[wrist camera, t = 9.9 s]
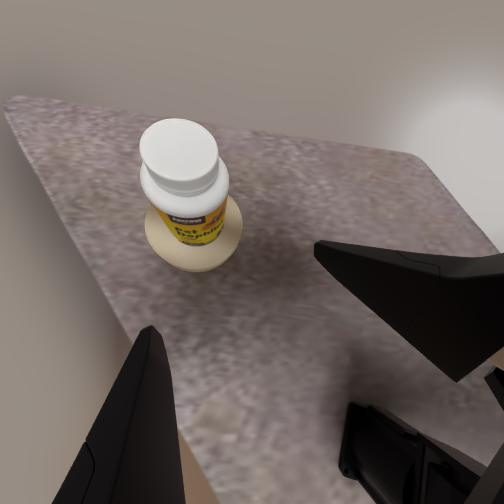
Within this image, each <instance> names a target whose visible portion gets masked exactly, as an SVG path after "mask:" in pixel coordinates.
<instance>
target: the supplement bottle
mask: <svg viewBox="0 0 504 504" xmlns="http://www.w3.org/2000/svg"><path fill="white" fill-rule="evenodd" d="M140 154H141V157H142V159H143V163H142V166H141V171H140V180H141V185H142V188H143V190H144V192H145V194H146V196H147V198H148V199H149V201H150V202H151V203H152V205H153V207H154V208H155V210H156V211H157V213H158V214H159V216H160V217H161V219H162V220H163V222H164V223H165V225H166V226H167V228H168V229H169V231H170V232H171V234H172V235H173V236H174V237H175V238H176V239H177V240H178V241H179V242H181V243H183V244H185V245H188V246H192V247H201V246H205V245H208V244H210V243H212V242H213V241H215V240H216V239H217V238H218V237H219V235H220V234H221V232H222V229H223V226H224V219H225V212H226V205H227V197H228V190H229V175H228V171H227V168H226V166H225V164H224V162H223V161H222V159H221V158H220V157H219V156H218V147H217V144H216V142H215V140H214V138H213V136H212V135H211V134H210V133H209V132H208V131H207V130H206V129H205V128H204V127H202V126H200V125H199V124H197V123H195V122H192V121H189V120H185V119H176V118H174V119H165V120H161V121H158V122H156V123H154V124H153V125H151V126H150V127H149V128H148V129H147V130H146V131H145V132H144V134H143V135H142V137H141V140H140Z"/></svg>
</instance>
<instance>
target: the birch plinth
mask: <svg viewBox="0 0 504 504" xmlns="http://www.w3.org/2000/svg"><path fill="white" fill-rule="evenodd" d="M242 230H243V222H242V216H241V213H240V210H239V208H238V206H237V204H236V203H235V201H234V200H233V199H232V198H231V197H230V196H229V195H228V197H227V205H226V212H225V219H224V226H223V229H222V232H221V234H220V235H219V237H218V238H217V239H216V240H215V241H213V242H212V243H210V244H208V245H205V246H201V247H192V246H188V245H185V244H183V243H181V242H179V241H178V240H177V239H176V238H175V237H174V236H173V235H172V234H171V232H170V231H169V229H168V228H167V226H166V225H165V223H164V222H163V220H162V219H161V217H160V216H159V214H158V213H157V211H156V210H155V208H154V207H153V205H152V203H151V204H150V206H149V208H148V211H147V213H146V218H145V231H146V235H147V239H148V241H149V243H150V245H151V246H152V248H153V249H154V251H155V252H156V253H157V254H158V255H159V256H160V257H162V258H163V259H164V260H165V261H167V262H168V263H169V264H171V265H172V266H174V267H176V268H178V269H180V270H183V271H187V272H194V273H200V272H207V271H211V270H214V269H216V268H218V267H220V266H221V265H223V264H224V263H225V262H227V261H228V260H229V259H230V257H231V256H232V255H233V253H234V252H235V250H236V248H237V246H238V243H239V241H240V238H241V235H242Z"/></svg>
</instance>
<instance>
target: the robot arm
mask: <svg viewBox="0 0 504 504" xmlns="http://www.w3.org/2000/svg"><path fill="white" fill-rule="evenodd" d="M314 257H315V258H316V259H317V260H318V261H319V262H320V264H321V265H322V266H323V267H324V268H325V269H326V270H327V271H328V272H329V273H330V274H331V275H332V276H333V277H334V278H335V279H336V280H337V281H339V282H340V283H341V284H342V285H343V286H344V287H346V288H347V289H348V290H349V291H350V292H351V293H352V294H354V295H355V296H356V297H357V298H358V299H359V300H361V301H362V302H363V303H364V304H365V305H366V306H367V307H369V308H370V309H371V310H372V311H373V312H374V313H376V314H377V315H378V316H379V317H380V318H381V319H383V320H384V321H385V322H386V323H387V324H388V325H389V326H391V327H392V328H393V329H394V330H395V331H396V332H398V333H399V334H400V335H401V336H402V337H403V338H404V339H405V340H407V341H408V342H409V343H410V344H411V345H412V346H414V347H415V348H416V349H417V350H418V351H419V352H420V353H422V354H423V355H424V356H425V357H426V358H427V359H429V360H430V361H431V362H432V363H433V364H434V365H435V366H437V367H438V368H439V369H440V370H441V371H442V372H444V373H445V374H446V375H447V376H448V377H449V378H451V379H452V380H453V381H455V382H456V383H457V382H458V381H460V380H461V379H462V378H464V377H465V376H466V375H468V374H469V373H470V372H472V371H473V370H474V369H476V368H477V367H478V366H479V365H481V364H482V363H483V362H485V361H486V360H487V361H488V362H490V363H491V364H493V365H494V366H493V367H492V368H491V369H490V371H489V372H488V373H487V374H486V376H485V377H484V379H485V381H486V382H487V384H488V386H489V387H490V389H491V391H492V392H493V394H494V396H495V397H496V399H497V401H498V402H499V404H500V406H501V407H502V409H503V411H504V253H501V254H496V255H491V256H485V257H457V256H446V255H434V254H424V253H414V252H406V251H398V250H391V249H383V248H376V247H369V246H361V245H354V244H346V243H339V242H331V241H324V240H320V241H318V242H316V243H315V244H314ZM354 407H355V408H354ZM353 408H354V410H353ZM339 469H340V471H341V473H342V474H343V476H345V477H347V478H350V479H354V480H357V481H358V482H359V483H360V484H361V485H362V487H363V488H364V489H365V490H366V492H367V493H368V494H369V496H370V497H371V498H372V499H373V501H374V502H375V503H376V504H504V443H503V445H502V446H501V448H500V449H499V451H498V452H497V454H496V455H495V457H494V458H493V460H492V461H491V463H490V464H489V466H488V467H486V466H484V465H483V464H481V463H479V462H478V461H476V460H474V459H473V458H471V457H469V456H468V455H466V454H464V453H462V452H461V451H459V450H457V449H455V448H453V447H451V446H449V445H446V444H444V443H442V442H440V441H438V440H436V439H433V438H431V437H429V436H427V435H425V434H423V433H421V432H419V431H418V430H416V429H415V428H413V427H411V426H410V425H408V424H407V423H405V422H404V421H402V420H401V419H399V418H398V417H396V416H395V415H393V414H392V413H390V412H389V411H387V410H384V409H381V408H378V407H375V406H373V405H368V407H366V406H363V405H360V404H357V403H354V402H351V403H350V404H349V408H348V414H347V421H346V427H345V433H344V440H343V446H342V453H341V459H340V465H339ZM344 469H345V470H344ZM52 504H186V503H185V494H184V485H183V476H182V467H181V458H180V449H179V440H178V431H177V422H176V413H175V404H174V395H173V386H172V377H171V371H170V366H169V362H168V358H167V354H166V350H165V345H164V341H163V338H162V336H161V334H160V333H159V332H158V331H157V330H156V329H155V327H154V326H152V325H150V326H148V327H146V328H144V329H142V330H141V331H140V333H139V335H138V337H137V339H136V341H135V343H134V345H133V347H132V349H131V351H130V353H129V355H128V357H127V359H126V360H125V363H124V364H123V367H122V368H121V370H120V373H119V374H118V377H117V379H116V380H115V382H114V384H113V386H112V388H111V390H110V392H109V394H108V396H107V398H106V400H105V402H104V404H103V406H102V408H101V410H100V412H99V414H98V416H97V418H96V420H95V422H94V423H93V425H92V428H91V429H90V431H89V433H88V435H87V437H86V442H84V444H83V445H82V447H81V449H80V451H79V453H78V455H77V457H76V459H75V461H74V463H73V465H72V467H71V468H70V470H69V472H68V474H67V476H66V478H65V480H64V482H63V483H62V485H61V488H60V489H59V491H58V493H57V495H56V496H55V498H54V500H53V502H52Z"/></svg>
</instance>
